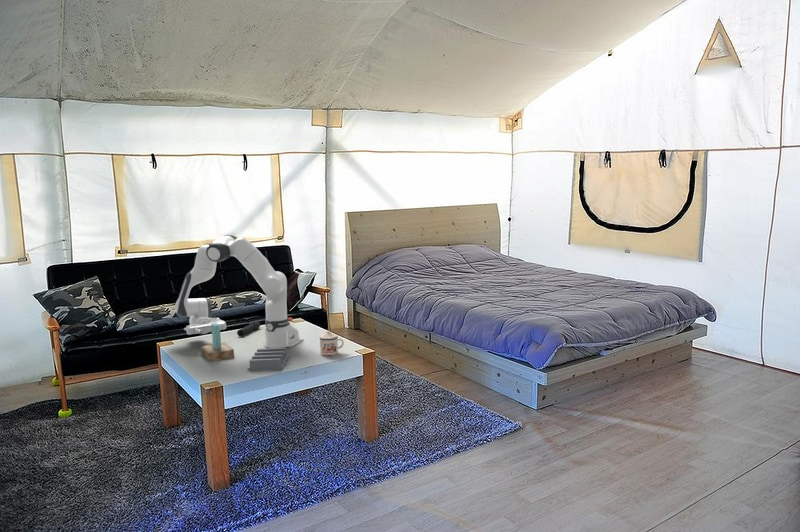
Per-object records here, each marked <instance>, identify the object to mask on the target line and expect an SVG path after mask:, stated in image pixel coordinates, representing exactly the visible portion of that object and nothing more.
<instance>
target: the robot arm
mask: <svg viewBox="0 0 800 532" xmlns="http://www.w3.org/2000/svg"><path fill="white" fill-rule="evenodd" d="M230 257H234V258H236V259H237V260H238V261H239V262H240V263H241V265H242V266H243V267H244V268H245V269H246V270H247V271H248V272H249V273H250V274H251V276H252V277H253V279H254V280H255V281H256V282H257V283H258V285H259V286H260V288H261V289H262V291H263V292H264V294H265V296H266V297H265V322H264V323H265V332H264V341H263V344H264V348H292V347H294V346H296V345H298V344H299V343H301V342H302V341H304V338H303V337H301V336H299V335H300V334H299V330H298V329H297V328H296V327H294V326H293V325H291V324H290V322H292V321H293V317H288V307H287V306H288V305H287V301H288V300H287V299H288V281H287V280H288V279H287V277H286V275H285V274H284V273H283V272H281V271H280V270H279V271H278V270H277V271H276V270H275V269H274V268H273V266H272V265H271V264H270V262H269V260H268V258H267V257H266V256H265V255H263V254H262V252H261V251H260V250H259V249H258V248H257V247H256V246H255V245H254V244H253V243H251V241H249V240H248V239H246V238H245V237H236V236H235V235H233V234H225V235H223V236H220V237H218V238H216V239H214V240H213V241H211V243H209V244H203V245H201V246H200V247H198V250H197V253H196V255H195V260H194V266H193V268H192V269H191V270H190V271H189V272H187V273H186V275H185V276H184V280H183V283H182V285H181V288H180V290H179V294H178V297H177V299H176V302H175V304H174V313H175V314H176V315H177V316H178V317H180V318H185V317H187V318H188V317H189V321H188V322H189V324H188V325H185V326H186V327H184V328H183V330H184V331H186V334H187V335H188V336H189V335H196V334H200V335H206V334H208V333H212V326H211V324H215V323H217V324H218V325H220V331H222V330H226V329H227V323H226V321H225V320H222V319H220V318H219V317H211V315H212V304H211V302H210V300H208V299H207V298H206V297H198V298H189V296H190V292H191V290H192V288H193V287H194V286H197V285H198V284H201V283H204V282H207V281H209V280H211V279H212V278H213V277H214V276H215V273H216V271H217V270H216V269H217V264H218V263H220V262H223V261H225V260H227V259H229V258H230Z"/></svg>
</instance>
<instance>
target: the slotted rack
mask: <svg viewBox="0 0 800 532" xmlns="http://www.w3.org/2000/svg"><path fill="white" fill-rule="evenodd" d="M288 356H289V353H288V354H287V347H283V348H268V347H262V348H257V349H256V351H255V352H254V355H252V356H251V359H249V362H248V363H249V365H248V367H247V371H248V370H249V371H271V370H270V369H277V370H283V369H284V367H285V365H286V363H287V361H288V359H289V357H288ZM287 358H288V359H287ZM286 360H287V361H286ZM285 362H286V363H285ZM284 364H285V365H284ZM283 366H284V367H283Z"/></svg>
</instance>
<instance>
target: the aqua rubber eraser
mask: <svg viewBox="0 0 800 532" xmlns="http://www.w3.org/2000/svg"><path fill="white" fill-rule="evenodd" d="M211 326H212V331H211V337H212V338H211V339H212V344H213V347H214V348H215V349H216V350H217V349H221V343H222V341H221V338H222V337H221V330H220V325H218V324H217V323H215V324H211Z"/></svg>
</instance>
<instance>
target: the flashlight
mask: <svg viewBox="0 0 800 532" xmlns="http://www.w3.org/2000/svg"><path fill="white" fill-rule="evenodd" d="M260 327H261V323H260V322H259V321H258V320H253V321H252V322H250V323H249V324H248V325H246V326H244V327H242V328H241V329H237V332H236V335H237V336H238V337H240V338H242V337H243V336H245V335H246V334H248V333H251V332H253V331H256V330H258V329H259V328H260Z"/></svg>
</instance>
